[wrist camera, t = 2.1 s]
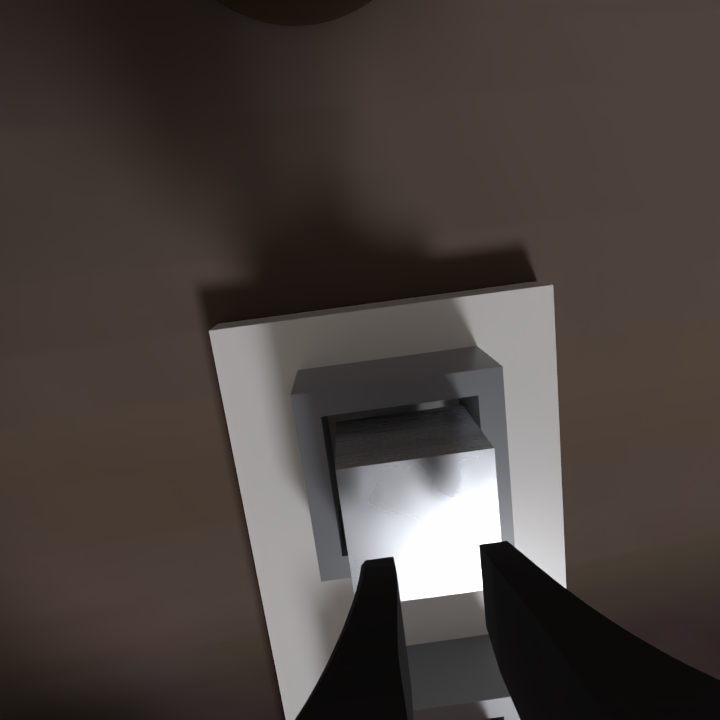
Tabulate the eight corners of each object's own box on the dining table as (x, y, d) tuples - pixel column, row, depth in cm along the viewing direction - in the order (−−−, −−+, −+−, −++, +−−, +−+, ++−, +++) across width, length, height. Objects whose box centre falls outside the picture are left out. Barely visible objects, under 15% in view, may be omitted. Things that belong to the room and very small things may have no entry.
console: (560, 748, 25) (607, 857, 21) (307, 784, 25) (300, 902, 21) (537, 281, 20) (593, 294, 16) (218, 323, 20) (184, 349, 15)
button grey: (472, 518, 18) (504, 586, 14) (352, 535, 18) (356, 607, 14) (462, 404, 17) (494, 448, 13) (335, 421, 17) (335, 470, 13)
